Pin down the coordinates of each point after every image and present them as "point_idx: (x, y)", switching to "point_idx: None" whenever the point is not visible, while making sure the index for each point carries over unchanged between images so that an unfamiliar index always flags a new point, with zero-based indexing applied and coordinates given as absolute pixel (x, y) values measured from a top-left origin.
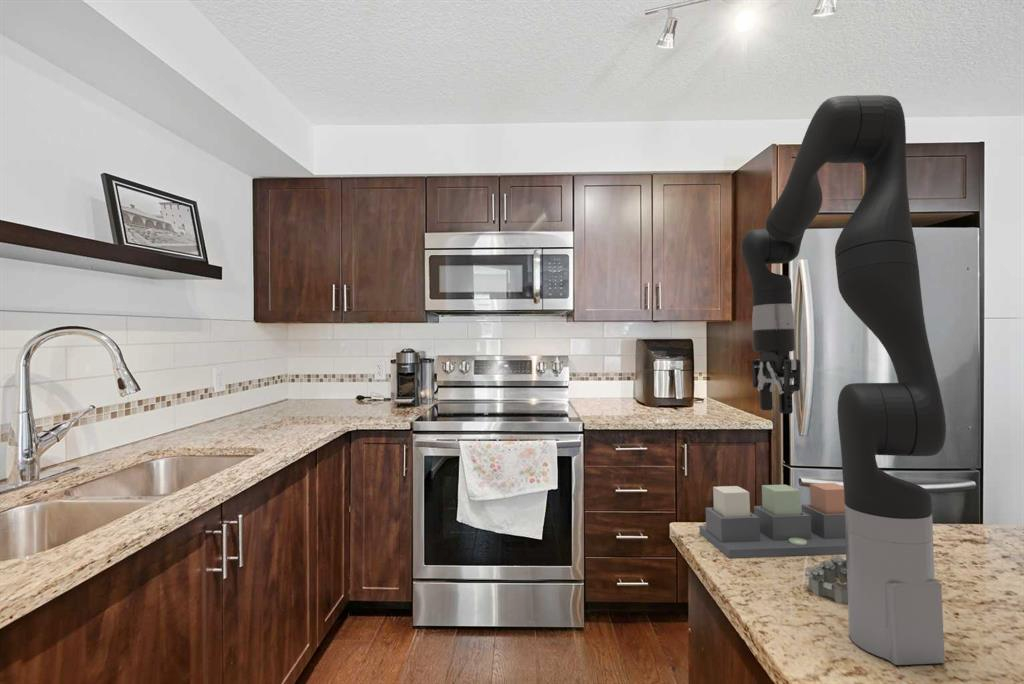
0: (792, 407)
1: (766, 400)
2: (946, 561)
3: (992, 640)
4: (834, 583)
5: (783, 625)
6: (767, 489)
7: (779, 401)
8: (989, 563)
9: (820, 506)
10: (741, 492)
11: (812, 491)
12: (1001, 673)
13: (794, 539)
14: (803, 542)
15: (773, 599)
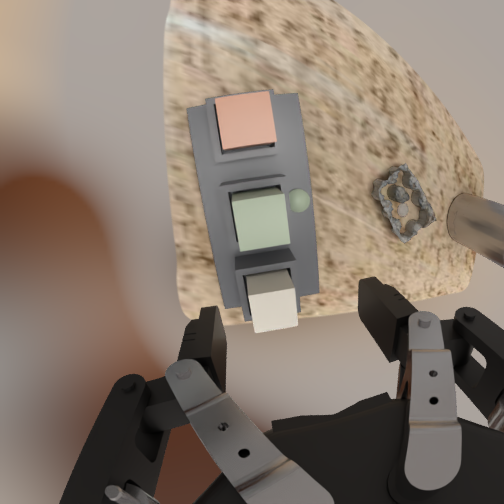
0: (395, 289)
1: (221, 351)
2: (318, 40)
3: (461, 144)
4: (425, 226)
5: (436, 277)
6: (262, 246)
7: (378, 341)
8: (318, 7)
9: (255, 145)
10: (295, 300)
11: (231, 148)
12: (483, 174)
13: (295, 204)
14: (307, 196)
15: (406, 272)
